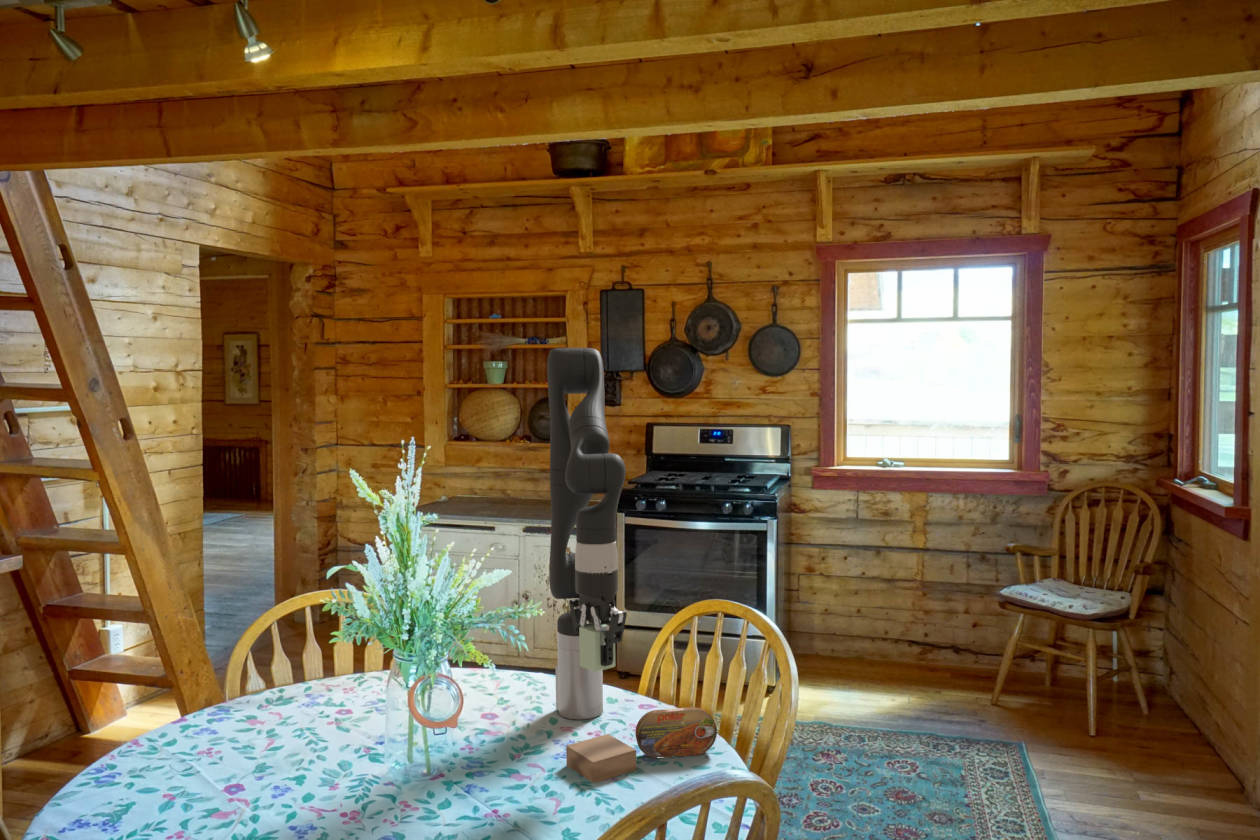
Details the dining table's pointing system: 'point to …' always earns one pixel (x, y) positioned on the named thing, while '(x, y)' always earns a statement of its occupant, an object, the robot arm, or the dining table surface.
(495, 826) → the dining table surface
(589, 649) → the sage block
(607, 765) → the walnut base
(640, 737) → the tin
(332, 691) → the dining table surface
